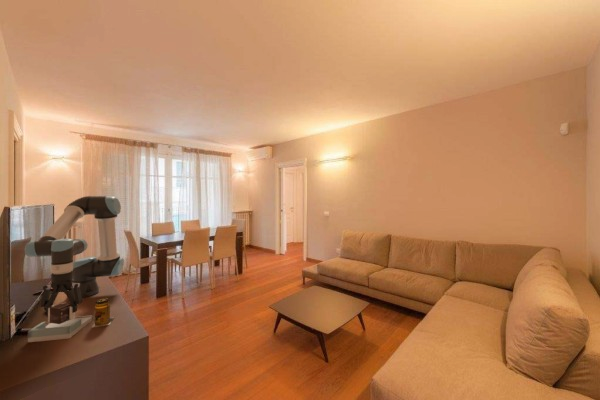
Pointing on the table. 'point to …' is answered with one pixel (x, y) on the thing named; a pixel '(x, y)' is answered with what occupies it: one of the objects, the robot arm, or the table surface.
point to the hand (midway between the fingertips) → (61, 319)
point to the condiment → (102, 313)
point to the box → (60, 313)
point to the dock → (58, 329)
